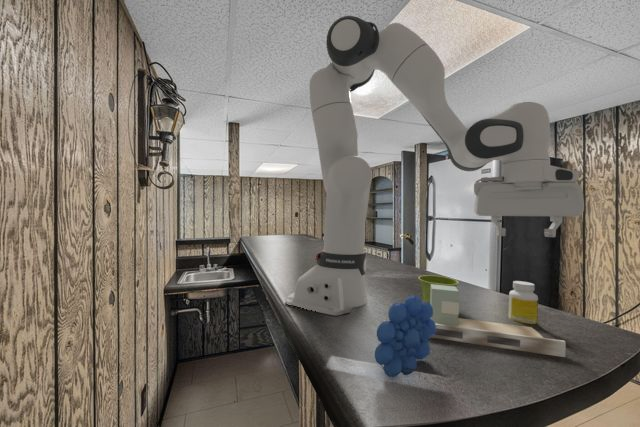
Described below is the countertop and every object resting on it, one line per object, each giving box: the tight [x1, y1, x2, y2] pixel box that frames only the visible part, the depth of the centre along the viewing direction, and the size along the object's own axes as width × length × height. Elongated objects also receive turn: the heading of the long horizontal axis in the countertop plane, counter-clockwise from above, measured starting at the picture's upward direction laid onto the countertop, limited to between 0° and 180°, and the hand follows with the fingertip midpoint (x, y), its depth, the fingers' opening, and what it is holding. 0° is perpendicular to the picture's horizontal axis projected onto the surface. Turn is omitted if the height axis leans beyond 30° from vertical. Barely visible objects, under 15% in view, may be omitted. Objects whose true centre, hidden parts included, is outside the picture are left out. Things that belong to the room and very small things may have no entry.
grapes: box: [374, 295, 436, 378], centre depth 44 cm, size 12×7×12 cm, turn 116°
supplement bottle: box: [507, 280, 539, 325], centre depth 63 cm, size 5×5×10 cm
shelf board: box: [431, 317, 567, 358], centre depth 56 cm, size 22×13×4 cm, turn 72°
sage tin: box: [430, 284, 460, 326], centre depth 58 cm, size 4×5×8 cm
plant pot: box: [418, 274, 460, 303], centre depth 70 cm, size 9×9×9 cm
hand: (524, 236), depth 63 cm, fingers open, 8 cm apart
